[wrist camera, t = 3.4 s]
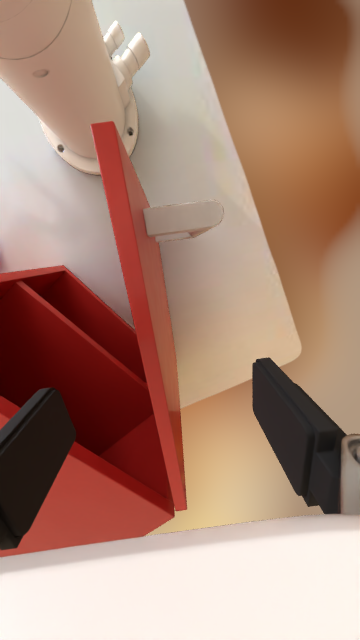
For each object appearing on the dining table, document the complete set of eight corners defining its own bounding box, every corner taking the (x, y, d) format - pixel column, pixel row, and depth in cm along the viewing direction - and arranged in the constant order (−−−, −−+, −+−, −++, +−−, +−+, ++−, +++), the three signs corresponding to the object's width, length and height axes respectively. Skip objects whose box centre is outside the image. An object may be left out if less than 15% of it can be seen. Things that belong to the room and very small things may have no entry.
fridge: (63, 265, 32) (-195, 298, 9) (171, 363, 39) (174, 517, 17) (1, 334, 35) (-300, 483, 13) (111, 413, 42) (46, 597, 20)
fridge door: (192, 212, 30) (258, 100, 8) (205, 357, 39) (255, 500, 17) (148, 218, 30) (88, 122, 8) (171, 362, 39) (175, 511, 17)
